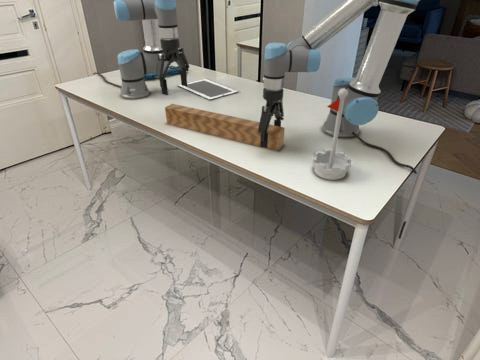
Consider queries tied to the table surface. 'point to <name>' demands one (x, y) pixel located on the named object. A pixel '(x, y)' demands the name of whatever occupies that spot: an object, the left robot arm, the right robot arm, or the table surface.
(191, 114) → the post
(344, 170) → the flag stand
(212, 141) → the table surface
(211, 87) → the tablet
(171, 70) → the submachine gun
